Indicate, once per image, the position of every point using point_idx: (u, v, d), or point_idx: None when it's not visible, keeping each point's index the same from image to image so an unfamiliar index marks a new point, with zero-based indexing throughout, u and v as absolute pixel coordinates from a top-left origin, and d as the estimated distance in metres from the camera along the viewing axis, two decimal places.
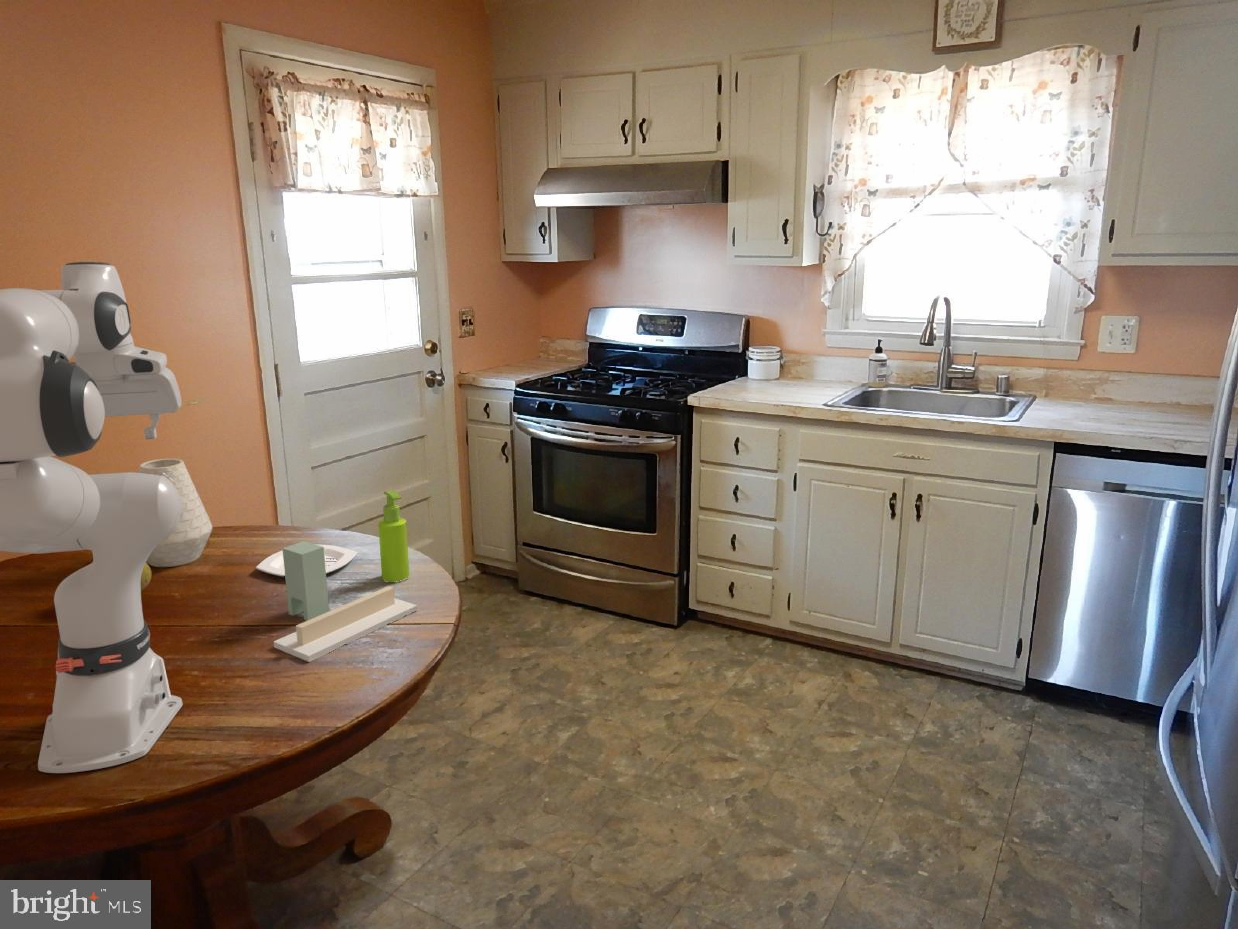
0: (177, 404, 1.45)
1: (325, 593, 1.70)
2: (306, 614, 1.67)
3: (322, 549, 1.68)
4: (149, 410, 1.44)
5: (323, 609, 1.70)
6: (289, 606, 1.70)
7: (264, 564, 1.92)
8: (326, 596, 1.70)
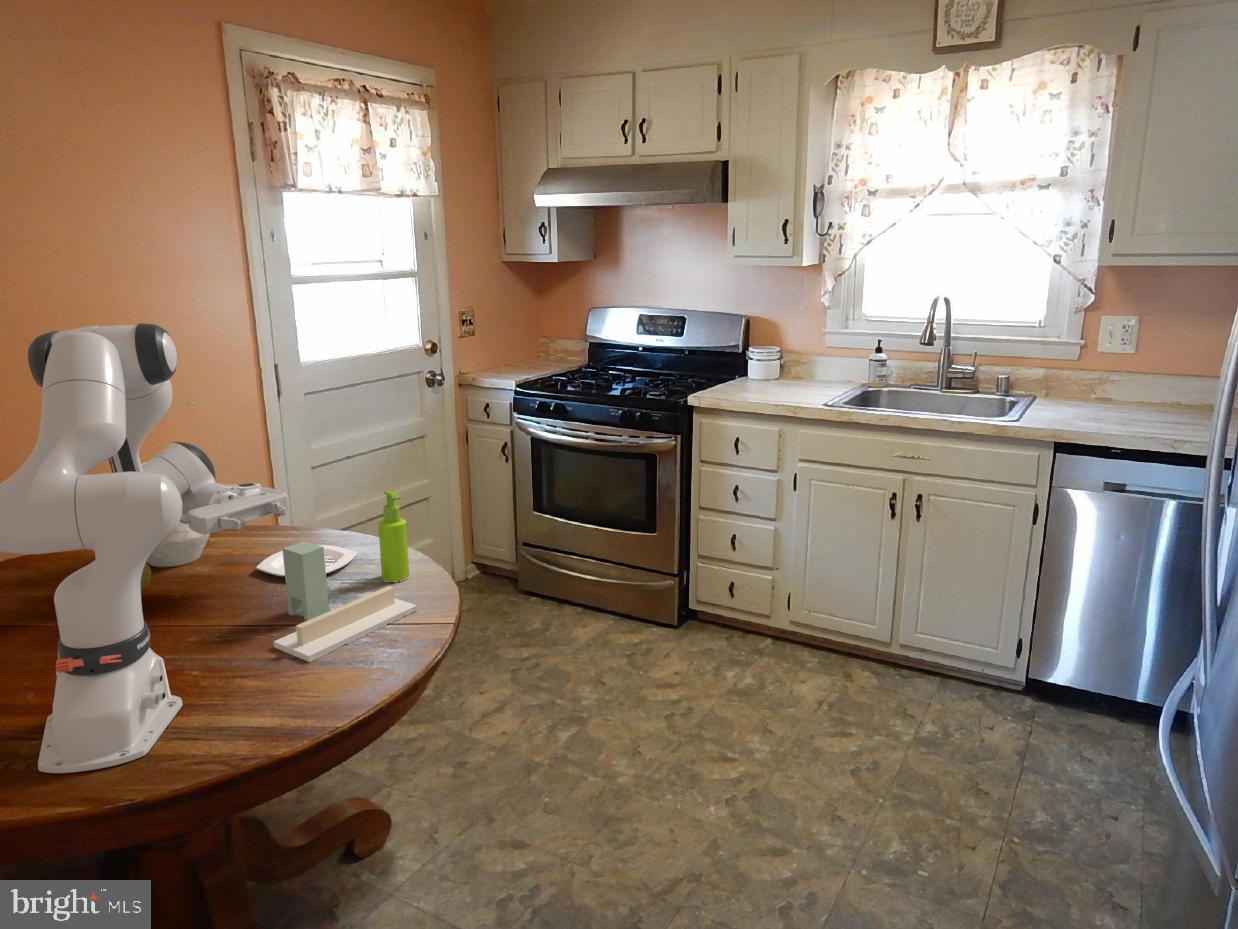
0: (284, 493, 1.84)
1: (325, 593, 1.70)
2: (306, 614, 1.67)
3: (322, 549, 1.68)
4: (269, 498, 1.80)
5: (323, 609, 1.70)
6: (289, 606, 1.70)
7: (264, 564, 1.92)
8: (326, 596, 1.70)
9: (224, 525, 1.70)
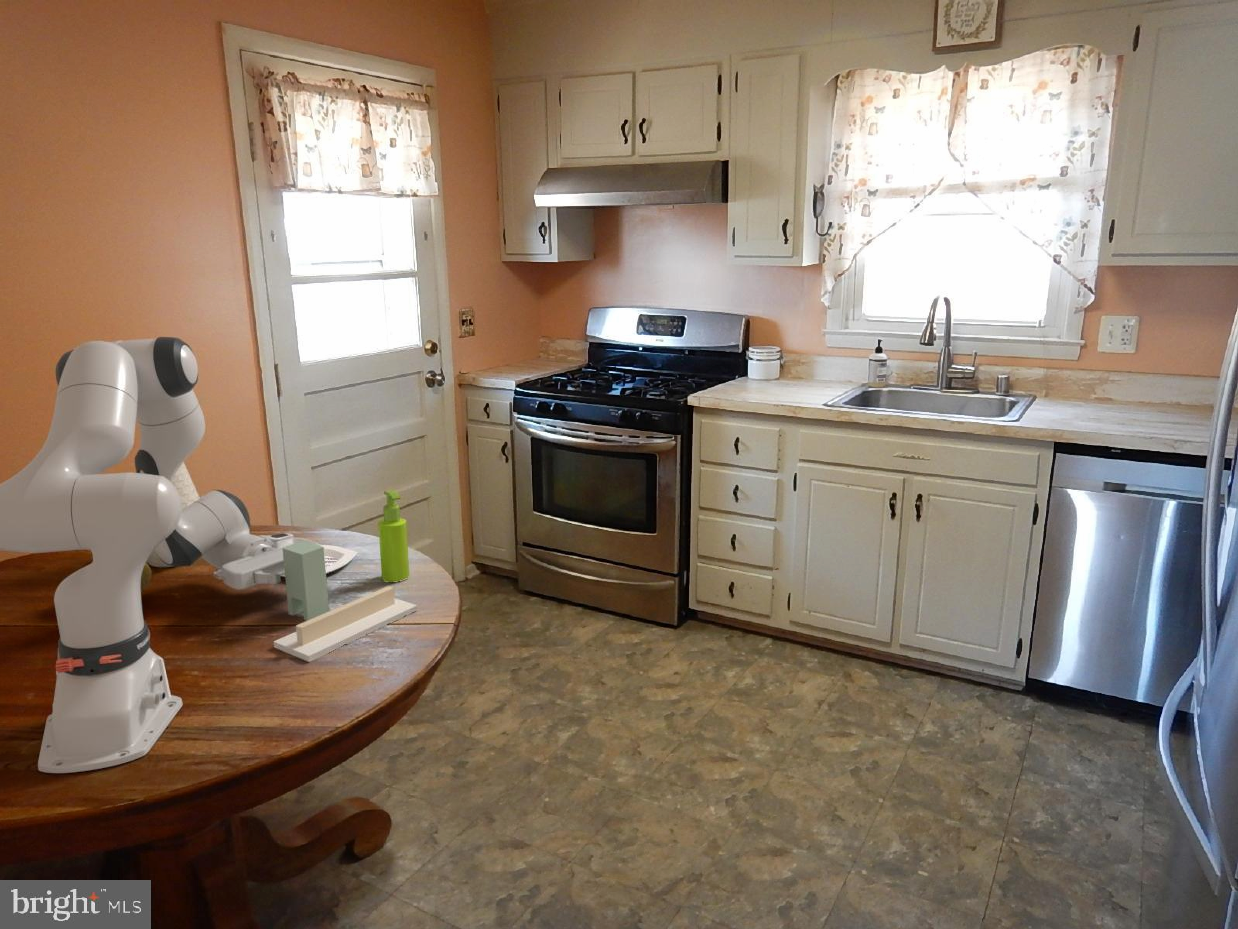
0: None
1: (325, 593, 1.70)
2: (306, 614, 1.67)
3: (322, 549, 1.68)
4: None
5: (323, 609, 1.70)
6: (289, 606, 1.70)
7: None
8: (326, 596, 1.70)
9: (259, 580, 1.66)
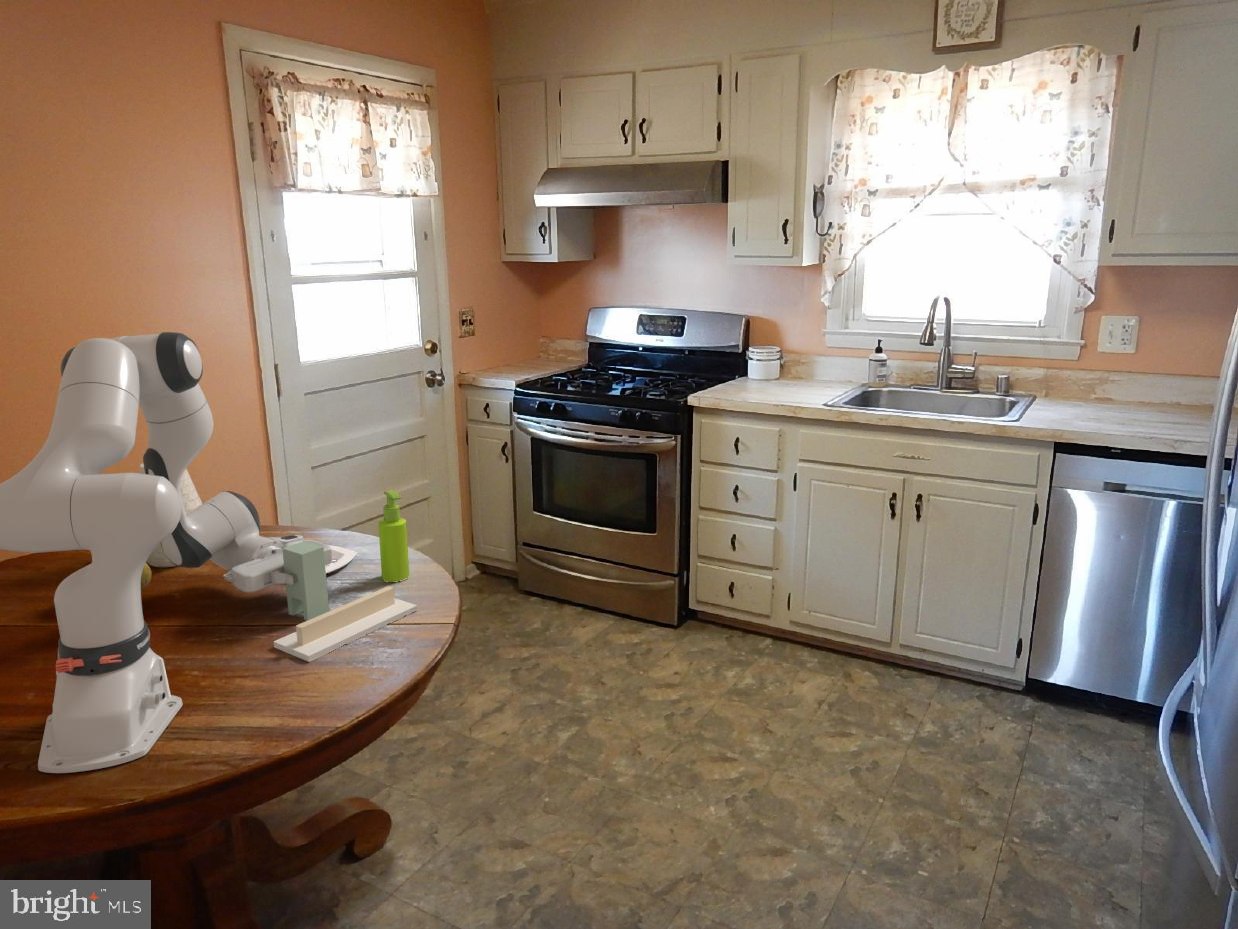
0: None
1: (325, 593, 1.70)
2: (306, 613, 1.67)
3: (322, 549, 1.68)
4: None
5: (323, 609, 1.70)
6: (289, 606, 1.70)
7: None
8: (326, 596, 1.70)
9: (276, 580, 1.66)
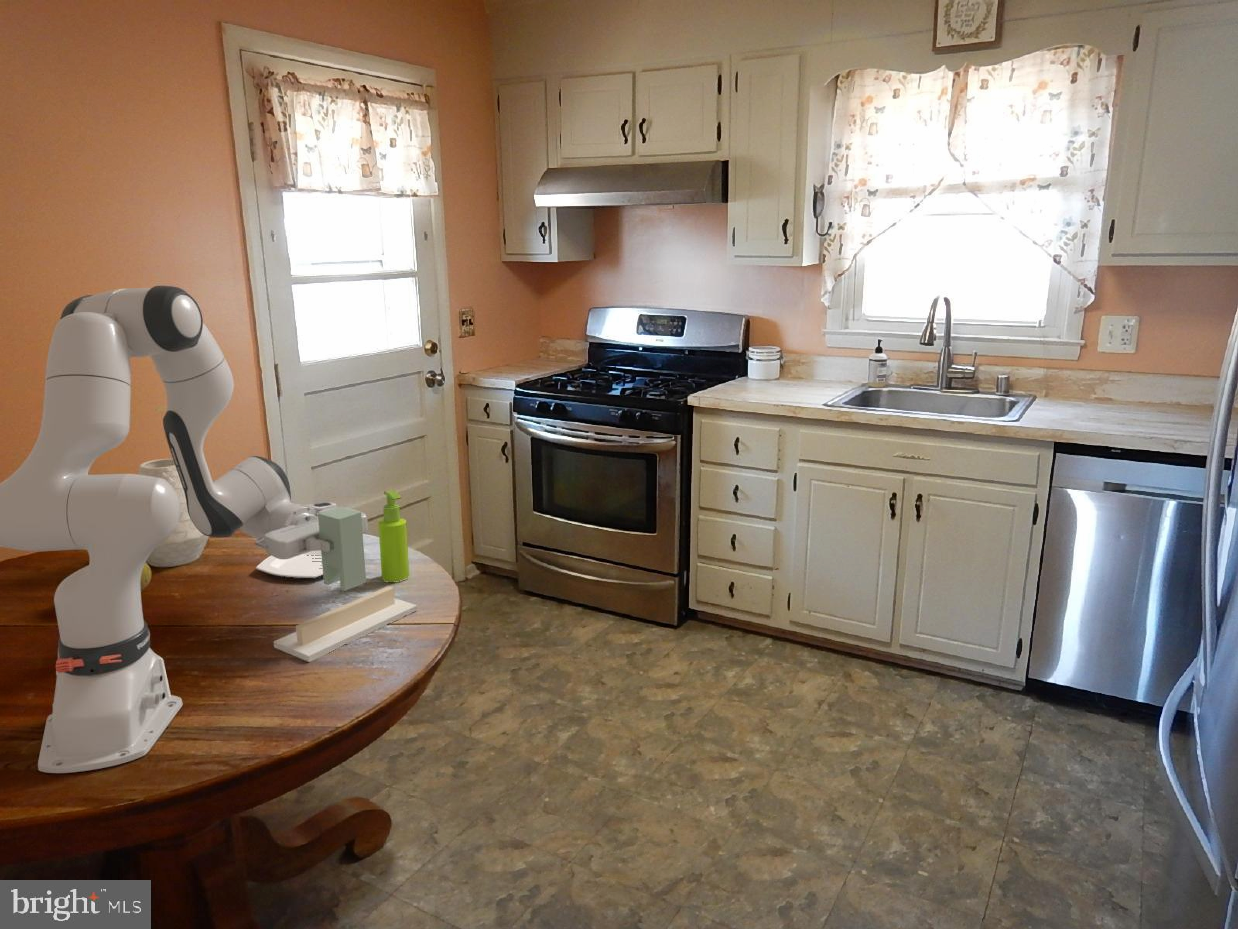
0: (363, 513, 1.70)
1: (362, 561, 1.61)
2: (343, 582, 1.58)
3: (359, 514, 1.59)
4: None
5: (360, 578, 1.61)
6: (324, 575, 1.61)
7: (264, 564, 1.92)
8: (363, 564, 1.62)
9: (311, 547, 1.57)
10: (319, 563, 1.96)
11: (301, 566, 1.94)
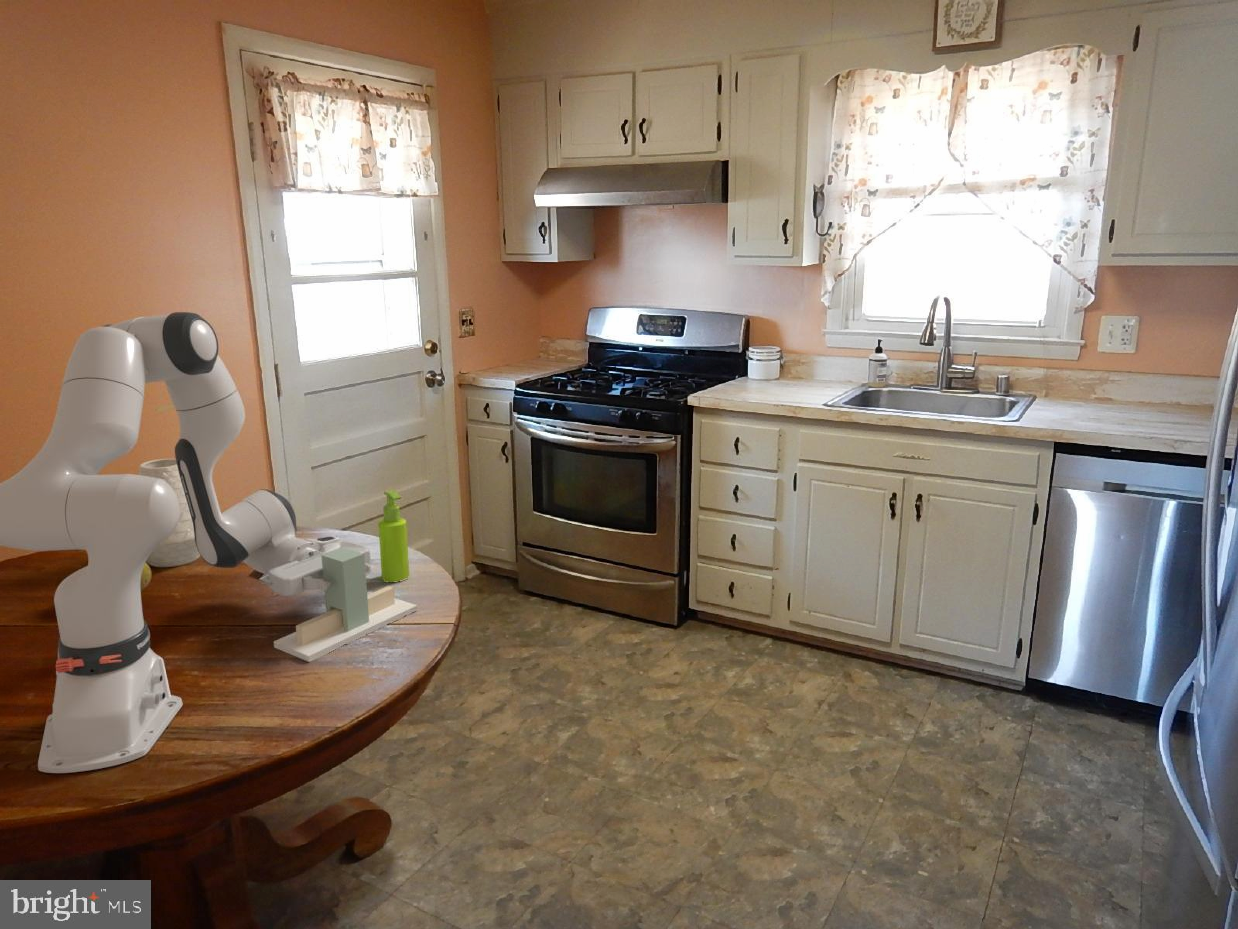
0: (366, 547, 1.72)
1: (365, 602, 1.63)
2: (346, 623, 1.60)
3: (362, 556, 1.61)
4: None
5: (363, 618, 1.63)
6: None
7: None
8: (366, 605, 1.64)
9: (308, 586, 1.58)
10: None
11: None
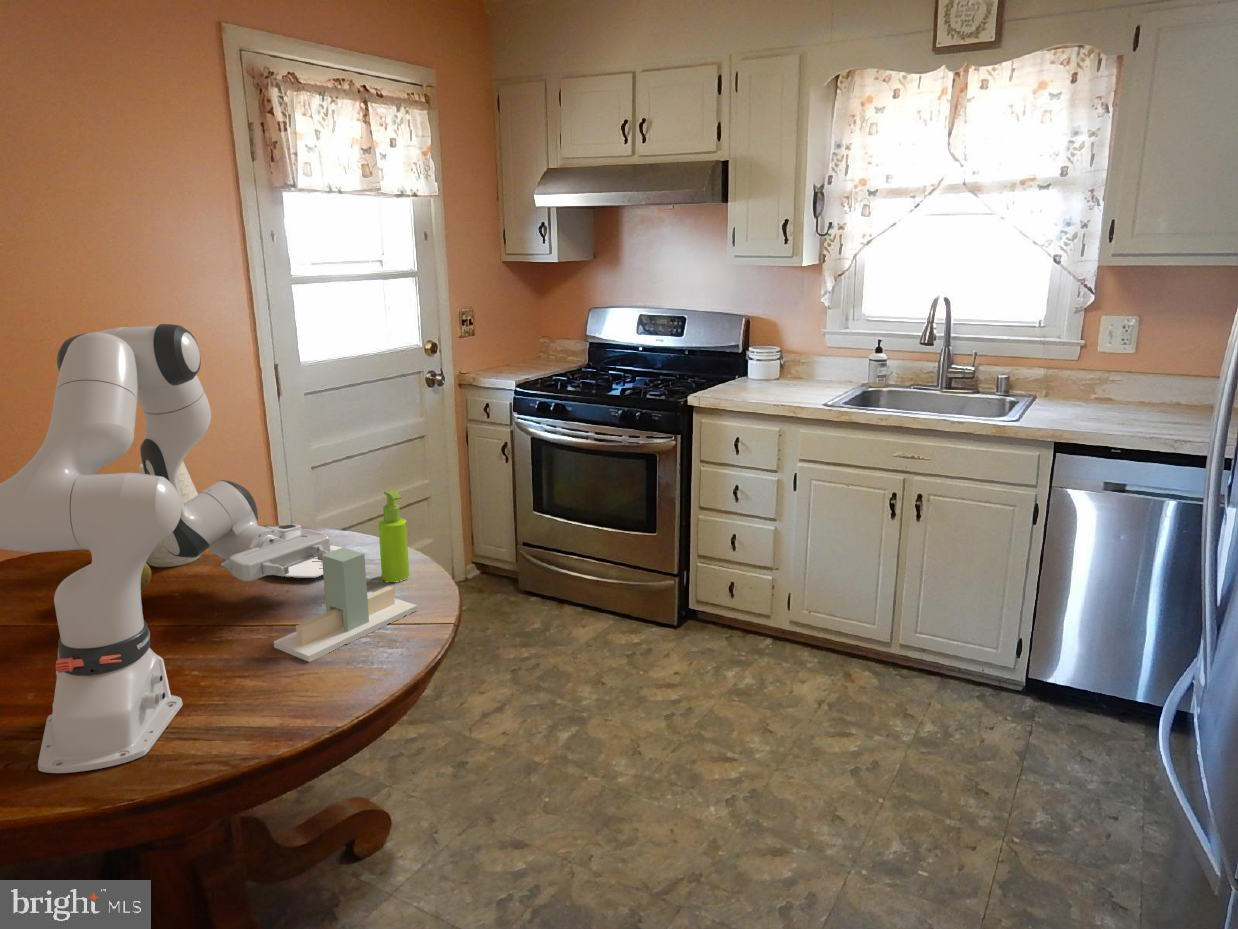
0: (326, 535, 1.79)
1: (365, 602, 1.63)
2: (346, 623, 1.60)
3: (363, 556, 1.61)
4: (311, 541, 1.75)
5: (363, 618, 1.63)
6: None
7: None
8: (366, 605, 1.64)
9: (267, 571, 1.65)
10: (319, 563, 1.96)
11: (301, 566, 1.94)
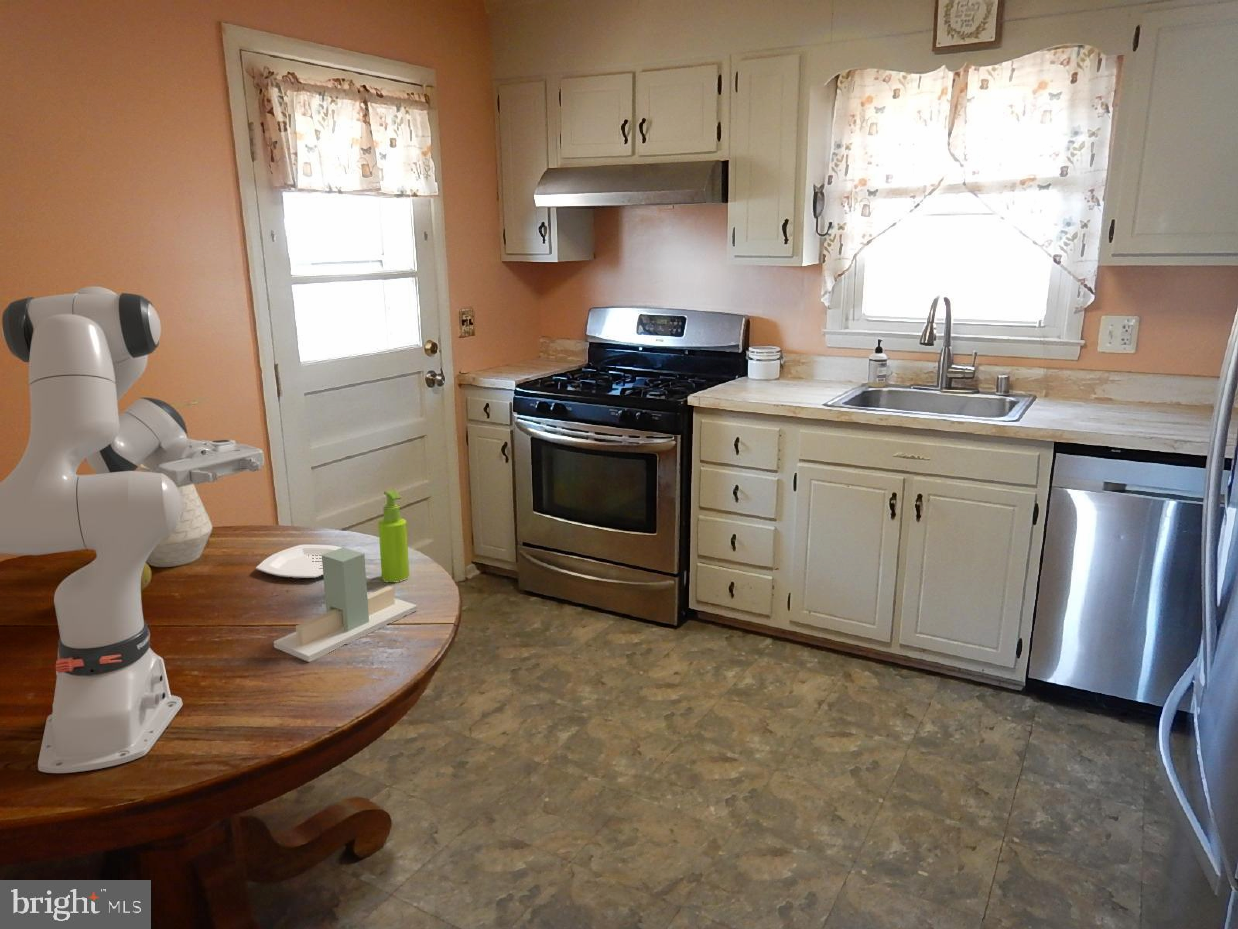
0: (260, 449, 1.79)
1: (365, 602, 1.63)
2: (346, 623, 1.60)
3: (363, 556, 1.61)
4: (243, 453, 1.75)
5: (363, 618, 1.63)
6: None
7: (264, 564, 1.92)
8: (366, 605, 1.64)
9: (195, 478, 1.65)
10: (319, 563, 1.96)
11: (301, 566, 1.94)
